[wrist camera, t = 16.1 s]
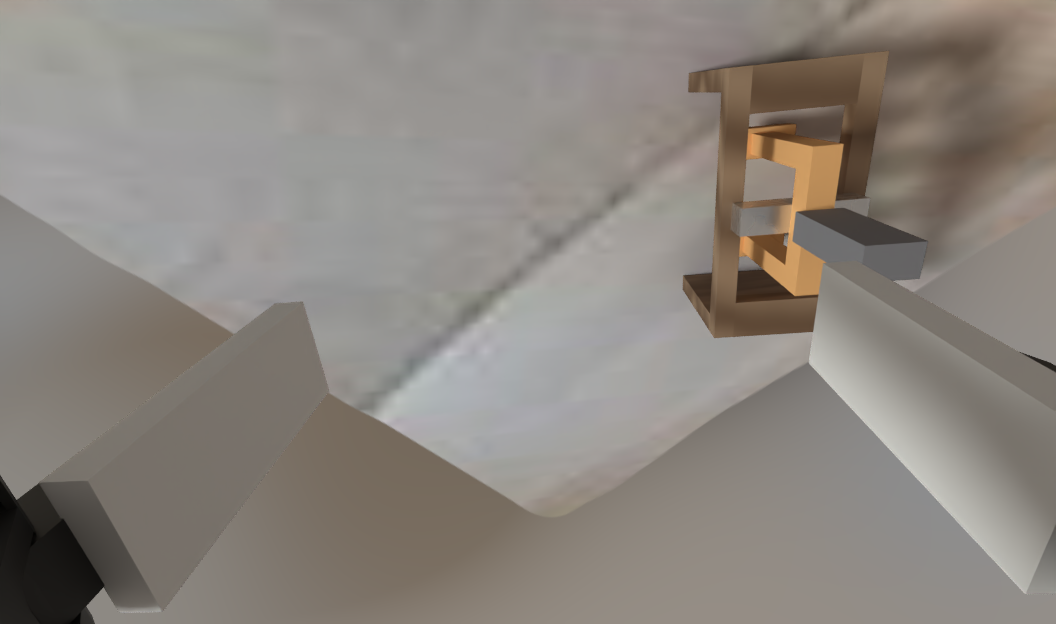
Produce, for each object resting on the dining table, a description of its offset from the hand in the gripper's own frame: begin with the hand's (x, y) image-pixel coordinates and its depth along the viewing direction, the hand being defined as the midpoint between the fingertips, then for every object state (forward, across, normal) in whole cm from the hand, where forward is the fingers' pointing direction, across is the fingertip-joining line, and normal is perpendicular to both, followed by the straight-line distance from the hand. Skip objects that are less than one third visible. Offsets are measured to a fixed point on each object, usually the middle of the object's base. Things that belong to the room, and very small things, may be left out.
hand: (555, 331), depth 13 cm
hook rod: (+26, +17, -4) cm, 31 cm away
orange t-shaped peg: (+34, +17, -4) cm, 38 cm away
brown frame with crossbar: (+37, +17, -4) cm, 41 cm away
